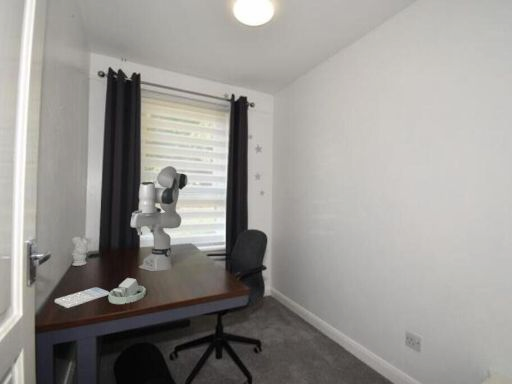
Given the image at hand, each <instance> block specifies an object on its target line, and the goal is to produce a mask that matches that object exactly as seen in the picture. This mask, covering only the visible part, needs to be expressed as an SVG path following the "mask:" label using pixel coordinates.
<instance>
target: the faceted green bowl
mask: <svg viewBox="0 0 512 384" xmlns="http://www.w3.org/2000/svg"><path fill="white" fill-rule="evenodd" d="M138 286H139V290H138V291H137V292H136V293H135V294H134V295H133V296H129V297H128V296H125V297H115V295H114V293H113V291H112V290H110V292H109V294H108V295H107V296H108V297H107V299H108V302H109V303H111V304H113V305H125V303H126V304H131V303H133V302H137V301H139V300H141V299H143V298H144V297H145V295H147V294H146V293H147V291H146V290H147V289H146V288H145V286H143V285H138ZM115 289H118V290H119V289H120V287H119V286H118V287H117V288H115ZM138 292H139V293H138ZM130 302H131V303H130Z"/></svg>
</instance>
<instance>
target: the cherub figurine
mask: <svg viewBox="0 0 512 384" xmlns="http://www.w3.org/2000/svg"><path fill="white" fill-rule="evenodd" d="M71 242H72V244H73V245H74V249H73V251H72V253H71V256H72V257H73V263H72V264H71V265H72V266H77V267H78V266H85V265H86V264H87V263H88V262H87V261H86V258H87V253H89V247H88V245H90V244H91V242H92V238H87V235H86V234H85V235H84V236H82V238H81V237H80V236H74V237H73V238H72V239H71Z"/></svg>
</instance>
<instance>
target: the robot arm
mask: <svg viewBox="0 0 512 384" xmlns="http://www.w3.org/2000/svg"><path fill="white" fill-rule="evenodd" d="M156 181H157V183H158V184H159V186H160V187H156V183H155V182H154V181H143V182H141V183H140V185H139V189H138V190H139V191H138V199H139V201H138V210H134V211H133V212H132V213H131V218H130V219H131V220H130V228H135V230H136V231H137V235H138V236H142V235H143V231H142V228H143V227H147V228H148V229H149V231H150V233H152V236H153V248H151V249H150V251H151V252H150V253H149V254H148V255H147V256H146V257H144V259H143V261H142V262H143V263H142V264H141V265H139V266H138V267H139V269H143V270H145V271H146V270H147V271H148V272H149V271H150V272H158V271H159V272H160V271H166V270H169V269H172V267H173V265H172V259H171V254H172V253H171V252H172V248H171V236H170V234H168V233H167V232H166V231H165V230H164V229H176V228H179V227H180V226H181V223H182V217H181V216H180V214H179V213H178V212H177V210H176V208H177V203H178V201H179V196H180V195H179V194H180V191H181V190H183V189H184V188H185V187H186V185H187V184H188V176H187V174H184V173H181V172H178V170H177V169H176V168H175V167H174V166H166V167H164V168H163V169H162V170H161V171H160V172H159V173H158V175H157V176H156ZM156 204H159V206H160V207H157V206H156ZM162 210H163V211H164V212H162Z"/></svg>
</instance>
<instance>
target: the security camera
mask: <svg viewBox="0 0 512 384" xmlns="http://www.w3.org/2000/svg"><path fill="white" fill-rule="evenodd" d="M139 286H140V285H139V283H138V281H137V279H135V278H130V277H127V278H125V280H123V281H122V282H120V284H119V285H118V288H119V287H120V289H119V290H118V289H116V288H113V289H112V290H111V291H113V293H114V295H115V297H125V296H128V297H129V296H133V295H134V294H135V293H136V292H139V291H138V290H139Z"/></svg>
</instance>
